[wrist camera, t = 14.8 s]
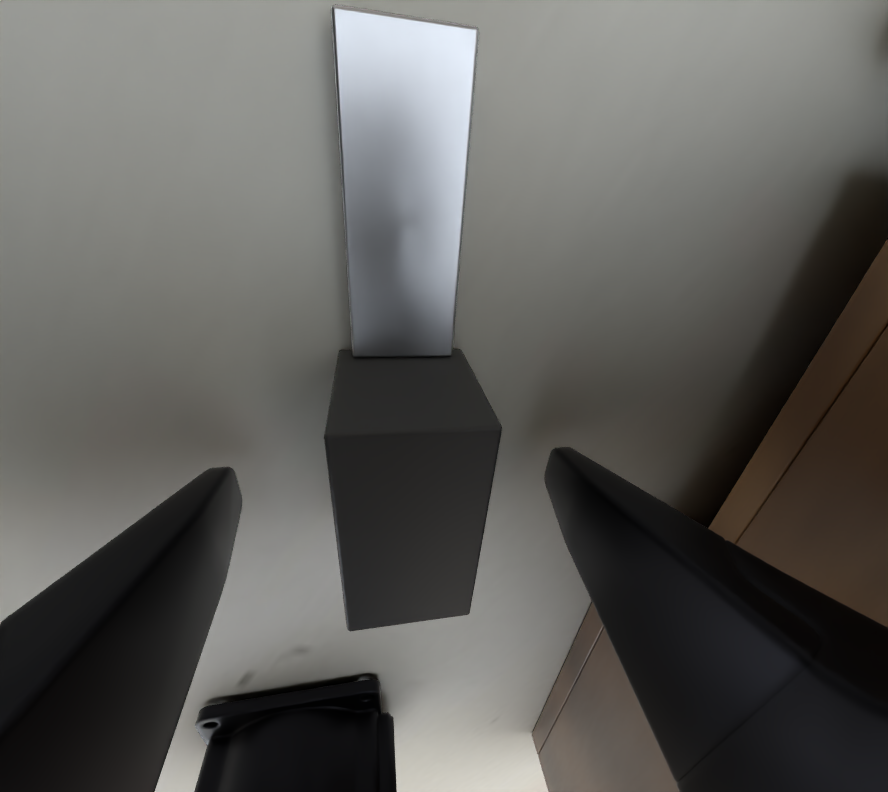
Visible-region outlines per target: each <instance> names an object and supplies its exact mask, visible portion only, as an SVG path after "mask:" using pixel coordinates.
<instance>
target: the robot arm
mask: <svg viewBox="0 0 888 792" xmlns="http://www.w3.org/2000/svg"><path fill="white" fill-rule="evenodd" d="M545 484H546V488H547V490H548V493H549V496H550V499H551V502H552V505H553V508H554V511H555V514H556V517H557V520H558V523H559V526H560V529H561V532H562V535H563V537H564V540H565V543H566V545H567V547H568V550H569V552H570V554H571V556H572V559H573V561H574V563H575V565H576V567H577V569H578V572H579V574H580V576H581V578H582V580H583V582H584V585H585V587H586V589H587V591H588V593H589V596H590V598H591V600H592V602H593V604H594V606H595V609H596V611H597V613H598V615H599V617H600V619H601V622H602V624H603V626H604V628H605V630H606V632H607V635H608V637H609V639H610V641H611V643H612V646H613V648H614V650H615V652H616V654H617V656H618V659H619V661H620V663H621V665H622V667H623V669H624V672H625V674H626V676H627V678H628V680H629V682H630V685H631V687H632V689H633V691H634V693H635V696H636V698H637V700H638V702H639V704H640V706H641V709H642V711H643V713H644V715H645V717H646V719H647V722H648V724H649V726H650V728H651V730H652V732H653V735H654V737H655V739H656V741H657V743H658V745H659V748H660V750H661V752H662V754H663V756H664V759H665V761H666V763H667V765H668V767H669V769H670V772H671V774H672V776H673V778H674V780H675V781H676V782H677V783H676V785H677V788H678V790H679V792H888V627H886V626H884V625H882V624H880V623H878V622H876V621H874V620H873V619H871V618H869V617H867V616H865V615H863V614H861V613H859V612H857V611H855V610H854V609H852V608H850V607H848V606H846V605H844V604H842V603H840V602H838V601H836V600H835V599H833V598H831V597H829V596H827V595H825V594H823V593H821V592H819V591H817V590H816V589H814V588H812V587H810V586H808V585H806V584H804V583H803V582H801V581H799V580H797V579H795V578H793V577H791V576H790V575H788V574H786V573H784V572H782V571H780V570H779V569H777V568H775V567H773V566H772V565H770V564H768V563H766V562H765V561H763V560H761V559H759V558H758V557H756V556H754V555H752V554H751V553H749V552H747V551H746V550H744V549H742V548H740V547H739V546H737V545H735V544H734V543H732V542H730V541H728V540H726V541H725V539H724V538H723V537H722V536H720V535H718V534H717V533H715V532H713V531H712V530H710V529H708V528H706V527H705V526H703V525H701V524H700V523H698V522H696V521H695V520H693V519H691V518H689V517H688V516H686V515H684V514H683V513H681V512H679V511H678V510H676V509H674V508H672V507H671V506H669V505H667V504H666V503H664V502H662V501H661V500H659V499H657V498H656V497H654V496H652V495H650V494H649V493H647V492H645V491H644V490H642V489H640V488H639V487H637V486H635V485H633V484H632V483H630V482H628V481H627V480H625V479H623V478H622V477H620V476H618V475H616V474H615V473H613V472H611V471H610V470H608V469H606V468H605V467H603V466H601V465H600V464H598V463H596V462H594V461H593V460H591V459H589V458H588V457H586V456H584V455H583V454H581V453H579V452H577V451H576V450H574V449H572V448H570V447H560V448H554V449H552V451H551V453H550V456H549V460H548V464H547V467H546V471H545ZM241 509H242V495H241V492H240V488H239V485H238V481H237V478H236V474H235V471H234V470H233V469H232V468H230V467H219V468H210V469H208V470H206V471H205V472H203V473H202V474H201V475H199V476H198V477H197V478H195V479H194V480H192V481H191V482H190V483H188V484H187V485H186V486H184V487H183V488H182V489H180V490H179V491H178V492H176V493H175V494H174V495H172V496H171V497H169V498H168V499H167V500H165V501H164V502H163V503H161V504H160V505H159V506H157V507H156V508H155V509H153V510H152V511H151V512H149V513H148V514H146V515H145V516H144V517H142V518H141V519H140V520H138V521H137V522H136V523H134V524H133V525H132V526H130V527H129V528H128V529H126V530H125V531H123V532H122V533H121V534H119V535H118V536H117V537H115V538H114V539H113V540H111V541H110V542H109V543H107V544H106V545H105V546H103V547H102V548H100V549H99V550H98V551H96V552H95V553H94V554H92V555H91V556H90V557H88V558H87V559H86V560H84V561H83V562H81V563H80V564H79V565H77V566H76V567H75V568H73V569H72V570H71V571H69V572H68V573H67V574H65V575H64V576H63V577H61V578H60V579H58V580H57V581H56V582H54V583H53V584H52V585H50V586H49V587H48V588H46V589H45V590H44V591H42V592H41V593H40V594H38V595H37V596H35V597H34V598H33V599H31V600H30V601H29V602H27V603H26V604H25V605H23V606H22V607H21V608H19V609H18V610H17V611H15V612H14V613H12V614H11V615H10V616H8V617H7V618H6V619H4V620H3V621H2V622H1V624H0V792H154V791H155V788H156V785H157V782H158V779H159V776H160V774H161V771H162V768H163V765H164V762H165V759H166V756H167V753H168V750H169V747H170V744H171V741H172V738H173V735H174V732H175V729H176V726H177V723H178V720H179V718H180V715H181V712H182V709H183V706H184V703H185V700H186V697H187V694H188V691H189V688H190V685H191V682H192V679H193V676H194V673H195V670H196V667H197V664H198V662H199V659H200V656H201V653H202V650H203V647H204V644H205V641H206V638H207V635H208V632H209V629H210V626H211V623H212V620H213V617H214V614H215V611H216V608H217V606H218V603H219V600H220V597H221V594H222V591H223V587H224V584H225V581H226V577H227V573H228V569H229V565H230V560H231V555H232V551H233V546H234V541H235V537H236V532H237V527H238V523H239V518H240V513H241ZM195 728H196V729H197V731H198V732H199V734H200V736H201V737H202V739H203V740H204V742H205V743H206V745H207V749H206V753H205V756H204V760H203V763H202V767H201V770H200V774H199V777H198V781H197V784H196V788H195V791H194V792H396V769H395V746H394V723H393V717H392V716H391V715H390V714H389V713H388V712H387V713H382V711H381V689H380V682H379V681H377V680H374V679H369V680H362V681H356V682H350V683H343V684H337V685H331V686H325V687H319V688H313V689H307V690H301V691H295V692H289V693H283V694H277V695H271V696H265V697H259V698H253V699H247V700H241V701H234V702H228V703H222V704H216V705H211V706H207V707H204V708H202V709H201V710H200V711H199V715H198V718H197V721H196V724H195Z"/></svg>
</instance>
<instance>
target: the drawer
mask: <svg viewBox="0 0 888 792" xmlns="http://www.w3.org/2000/svg"><path fill="white" fill-rule="evenodd" d="M708 529H710V530H712V531H713V532H715V533H717V534H718V535H720V536H722V537H723V538H724V539H725V541H726V540H728V541H730V542H732V543H734V544H735V545H737V546H739V547H740V548H742V549H744V550H746V551H747V552H749V553H751V554H752V555H754V556H756V557H758V558H759V559H761V560H763V561H765V562H766V563H768V564H770V565H772V566H773V567H775V568H777V569H779V570H780V571H782V572H784V573H786V574H788V575H790V576H791V577H793V578H795V579H797V580H799V581H801V582H803V583H804V584H806V585H808V586H810V587H812V588H814V589H816V590H817V591H819V592H821V593H823V594H825V595H827V596H829V597H831V598H833V599H835V600H836V601H838V602H840V603H842V604H844V605H846V606H848V607H850V608H852V609H854V610H855V611H857V612H859V613H861V614H863V615H865V616H867V617H869V618H871V619H873V620H874V621H876V622H878V623H880V624H882V625H884V626H886V627H888V239H887V240H886V242H885V243H884V245H883V247H882V248H881V250H880V251H879V253H878V255H877V256H876V258H875V260H874V261H873V263H872V264H871V266H870V268H869V269H868V271H867V272H866V274H865V276H864V277H863V279H862V280H861V282H860V284H859V285H858V287H857V289H856V290H855V292H854V293H853V295H852V297H851V298H850V300H849V301H848V303H847V305H846V306H845V308H844V310H843V311H842V313H841V314H840V316H839V318H838V319H837V321H836V322H835V324H834V326H833V327H832V329H831V331H830V332H829V334H828V335H827V337H826V339H825V340H824V342H823V343H822V345H821V347H820V348H819V350H818V352H817V353H816V355H815V356H814V358H813V360H812V361H811V363H810V364H809V366H808V368H807V369H806V371H805V373H804V374H803V376H802V377H801V379H800V381H799V382H798V384H797V385H796V387H795V389H794V390H793V392H792V393H791V395H790V397H789V398H788V400H787V402H786V403H785V405H784V406H783V408H782V410H781V411H780V413H779V414H778V416H777V418H776V419H775V421H774V423H773V424H772V426H771V427H770V429H769V431H768V432H767V434H766V435H765V437H764V439H763V440H762V442H761V444H760V445H759V447H758V448H757V450H756V452H755V453H754V455H753V456H752V458H751V460H750V461H749V463H748V465H747V466H746V468H745V469H744V471H743V473H742V474H741V476H740V477H739V479H738V481H737V482H736V484H735V486H734V487H733V489H732V490H731V492H730V494H729V495H728V497H727V498H726V500H725V502H724V503H723V505H722V506H721V508H720V510H719V511H718V513H717V515H716V516H715V518H714V519H713V521H712V523H711V524H710V526H709V527H708Z"/></svg>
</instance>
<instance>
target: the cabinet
mask: <svg viewBox="0 0 888 792" xmlns="http://www.w3.org/2000/svg"><path fill="white" fill-rule="evenodd" d="M532 737H533V741H534V744H535V747H536V751H537V754H538V755H539V760H540V764H541V767H542V771H543V774H544V777H545V781H546V784H547V788H548V791H549V792H679V790H678V788H677V785H676V783H677V782H676V781H675V780H674V778H673V776H672V774H671V772H670V769H669V767H668V765H667V763H666V761H665V759H664V756H663V754H662V752H661V750H660V748H659V745H658V743H657V741H656V739H655V737H654V735H653V732H652V730H651V728H650V726H649V724H648V722H647V719H646V717H645V715H644V713H643V711H642V709H641V706H640V704H639V702H638V700H637V698H636V696H635V693H634V691H633V689H632V687H631V685H630V682H629V680H628V678H627V676H626V674H625V672H624V669H623V667H622V665H621V663H620V661H619V659H618V656H617V654H616V652H615V650H614V648H613V646H612V643H611V641H610V639H609V637H608V635H607V632H606V630H605V628H604V626H603V624H602V622H601V619H600V617H599V615H598V613H597V611H596V609H595V606H594V604H593V602H592V604H591V606H590V608H589V610H588V613H587V615H586V617H585V619H584V621H583V624H582V626H581V628H580V630H579V632H578V635H577V637H576V639H575V641H574V643H573V645H572V648H571V650H570V652H569V654H568V656H567V659H566V661H565V663H564V665H563V667H562V670H561V672H560V674H559V676H558V678H557V680H556V683H555V685H554V687H553V689H552V691H551V694H550V696H549V698H548V700H547V702H546V705H545V707H544V709H543V711H542V713H541V715H540V718H539V720H538V722H537V724H536V726H535V729H534V731H533V733H532Z"/></svg>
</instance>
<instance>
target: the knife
mask: <svg viewBox="0 0 888 792" xmlns="http://www.w3.org/2000/svg"><path fill="white" fill-rule="evenodd" d="M331 23H332V39H333V55H334V70H335V86H336V102H337V118H338V133H339V149H340V165H341V181H342V196H343V212H344V228H345V244H346V259H347V275H348V291H349V307H350V322H351V338H352V350H341V351H339V354H338V360H337V365H336V371H335V377H334V383H333V388H332V394H331V400H330V406H329V411H328V417H327V423H326V429H325V434H324V440H325V449H326V457H327V465H328V474H329V482H330V490H331V499H332V507H333V515H334V524H335V532H336V540H337V549H338V557H339V565H340V574H341V582H342V590H343V599H344V607H345V615H346V624H347V629H348V631H355V630H362V629H369V628H376V627H384V626H391V625H398V624H405V623H412V622H419V621H426V620H433V619H440V618H447V617H455V616H462V615H467V614H469V613H470V607H471V601H472V596H473V590H474V584H475V579H476V573H477V567H478V562H479V556H480V550H481V545H482V539H483V533H484V528H485V522H486V516H487V511H488V505H489V499H490V494H491V488H492V482H493V477H494V471H495V465H496V460H497V454H498V448H499V443H500V437H501V431H502V427H501V424H500V422H499V421H498V419H497V417H496V415H495V413H494V411H493V409H492V407H491V405H490V403H489V402H488V400H487V398H486V396H485V394H484V392H483V390H482V388H481V386H480V384H479V383H478V381H477V379H476V377H475V375H474V373H473V371H472V369H471V367H470V366H469V364H468V362H467V360H466V358H465V356H464V354H463V352H462V350H460V349H453V339H454V328H455V316H456V304H457V292H458V280H459V268H460V256H461V244H462V232H463V220H464V208H465V196H466V184H467V172H468V160H469V148H470V136H471V124H472V112H473V100H474V89H475V77H476V65H477V53H478V41H479V30H478V28H477V27H476V26H471V25H464V24H458V23H452V22H445V21H439V20H432V19H426V18H420V17H413V16H407V15H400V14H394V13H388V12H381V11H375V10H368V9H362V8H355V7H349V6H343V5H336V4H335V5H333V6H332V7H331Z"/></svg>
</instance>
